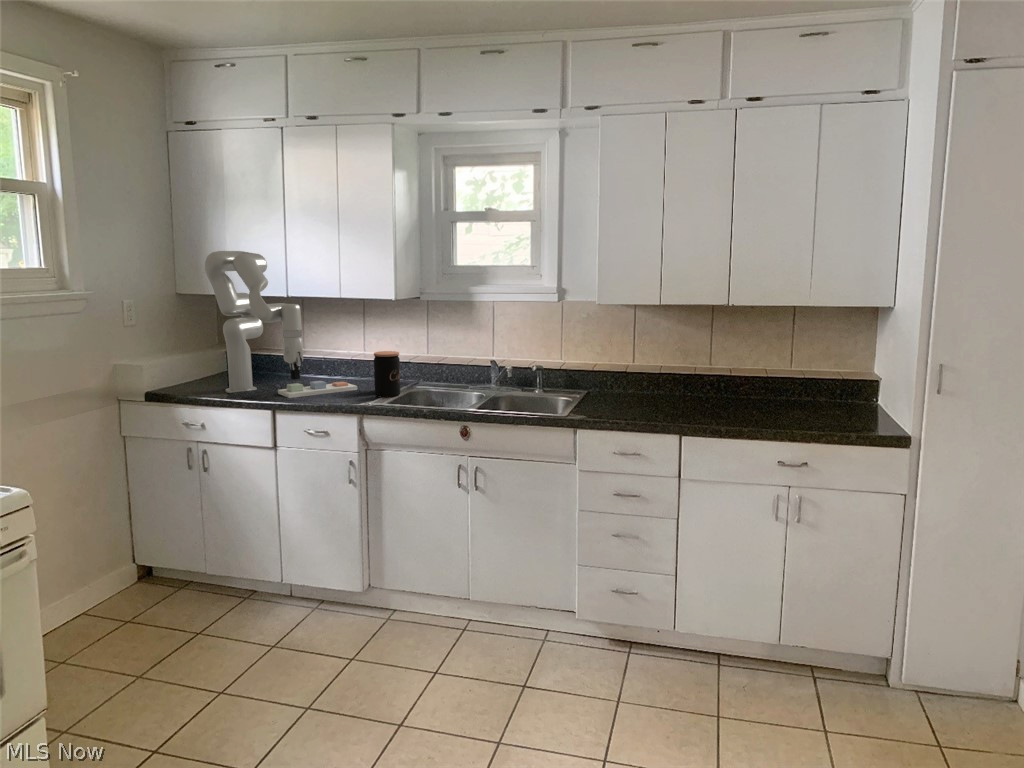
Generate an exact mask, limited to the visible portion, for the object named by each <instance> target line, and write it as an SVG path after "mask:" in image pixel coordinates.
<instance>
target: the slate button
mask: <svg viewBox="0 0 1024 768" xmlns="http://www.w3.org/2000/svg"><path fill="white" fill-rule="evenodd" d="M326 384H327V382H326V381H323V380H315V381H309V386H310V388H311V389H314V390H316V389H324V388H326Z"/></svg>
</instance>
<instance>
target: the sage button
mask: <svg viewBox="0 0 1024 768" xmlns="http://www.w3.org/2000/svg"><path fill="white" fill-rule="evenodd" d="M303 387H304V384H302V383H299V382H297V383H296V382H295V383H288V384H286V389H287V391H289V392H299V391H303Z"/></svg>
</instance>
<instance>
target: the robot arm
mask: <svg viewBox="0 0 1024 768" xmlns="http://www.w3.org/2000/svg"><path fill="white" fill-rule="evenodd" d="M267 268H268V262H267V260H266V258H265V257H264V256H263V255H261V254H260V253H254V252H249V251H243V250H217V251H213V252H211V253H209V254H207V256H206V258H205V261H204V271H205V272H204V273H205V275H206V276H207V279H208V281H209V283H210V285H211V288H212V290H213V294H214V297H215V299H216V302H217V305H218V308H219V311H220V312H221V314H222V315H223V316H227V317H232V316H233V318H230V319H227V320H226V321H225V322H224V323H223V325H222V332H223V336H224V340H225V346H226V347H225V348H226V356H227V371H228V372H227V374H228V385H229V386H228V388H225V393H227V394H233V393H238V392H247V391H248V392H249V391H255V390H258V389H257V386H254V385H253V368H252V352H251V347H250V345H249V344H248V341H247V340H250V339H256V338H259V337H261V335H262V334H263V332H264V323H266V324H270V323H279V322H281V325H282V326H281V328H282V339H283V349H282V350H283V351H282V352H283V361H284V362H285V363H287V364H289V368H290V369H289V371H290V380H292V381H293V380H300V379H301V375H300V373H301V372H300V369H301V368H300V367H301V366H302V363H303V361H304V351H303V343H302V341H303V340H302V338H303V330H302V329H303V327H302V313H301V312H302V311H301V306H300V305H299V304H298V303H284V302H278V303H266V301H265V300H264V298H263V297H262V295H261V292H263V291H264V290H265V289H267V287H268V284H269V281H268V279H267V277H266V275H265V274H264V273H265V272H266V270H267ZM225 272H236V273H237V274H238V276H239V278H240V279H241V280H242V282H243V284H244V285H245V287H246V288H247V289H248V290H249V291H248V293H247V292H237V290H236V287H235V285H234V282H233V279H231V277H230V276H229V275H228V274H226V273H225ZM235 316H241V317H235Z"/></svg>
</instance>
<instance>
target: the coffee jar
mask: <svg viewBox="0 0 1024 768" xmlns="http://www.w3.org/2000/svg"><path fill="white" fill-rule="evenodd" d="M399 355H400V352H399V351H396V350H394V351H392V350H382V351H381V350H380V351H375V352H373V356H374V358H373V375H374V376H373V377H374V379H373V380H374V381H373V382H374V393H375V396H376V395H377V396H376V397H378V396H381V397H380V398H394V397H398V396H400V394H401V365H400V363H401V362H400V357H399Z"/></svg>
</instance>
